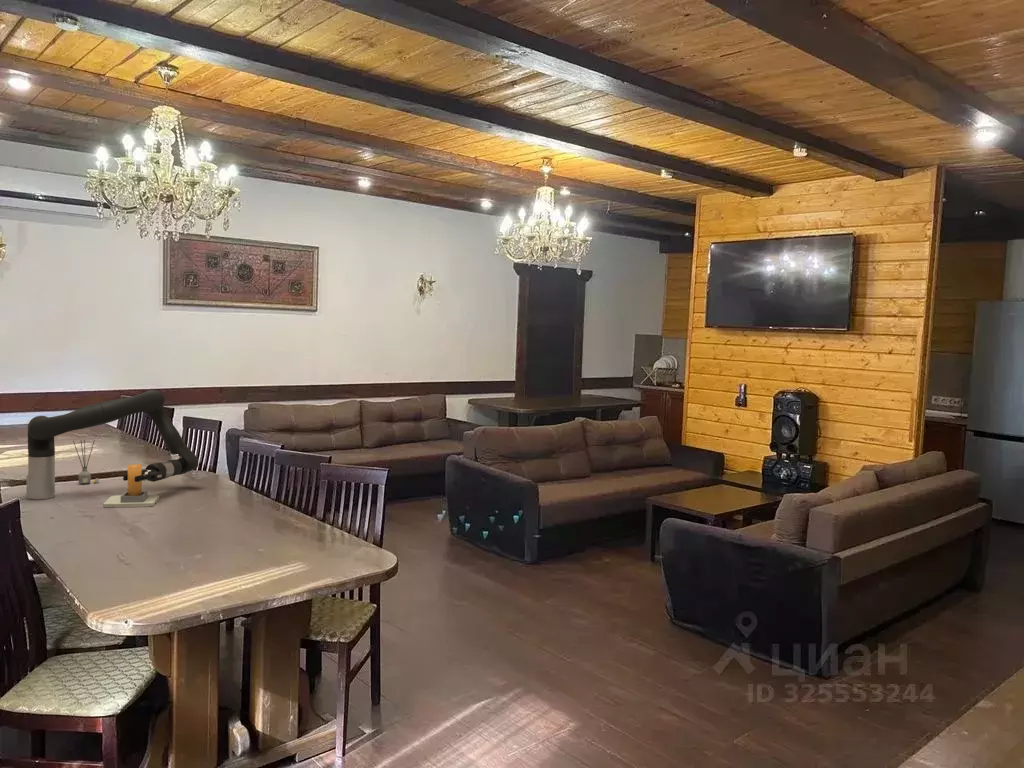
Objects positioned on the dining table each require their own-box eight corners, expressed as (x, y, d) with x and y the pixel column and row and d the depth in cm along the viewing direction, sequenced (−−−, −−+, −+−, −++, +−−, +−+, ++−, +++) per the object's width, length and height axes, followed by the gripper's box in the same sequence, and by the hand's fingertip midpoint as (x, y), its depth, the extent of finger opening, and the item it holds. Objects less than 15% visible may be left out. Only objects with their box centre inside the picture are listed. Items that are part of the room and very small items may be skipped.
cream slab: (103, 507, 295) (103, 497, 295) (111, 499, 308) (111, 489, 308) (153, 506, 300) (153, 497, 300) (159, 498, 314) (159, 489, 313)
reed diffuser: (73, 485, 328) (73, 440, 327) (71, 482, 334) (71, 438, 332) (100, 483, 335) (100, 439, 333) (97, 480, 340) (97, 437, 339)
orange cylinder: (126, 496, 300) (126, 466, 299) (129, 493, 305) (129, 464, 304) (140, 495, 302) (140, 466, 301) (142, 492, 307) (142, 464, 306)
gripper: (145, 460, 318) (114, 467, 302) (174, 463, 315) (144, 471, 298) (145, 478, 319) (114, 486, 302) (174, 481, 315) (144, 489, 299)
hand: (129, 478), depth 300 cm, fingers closed on orange cylinder, 5 cm apart
